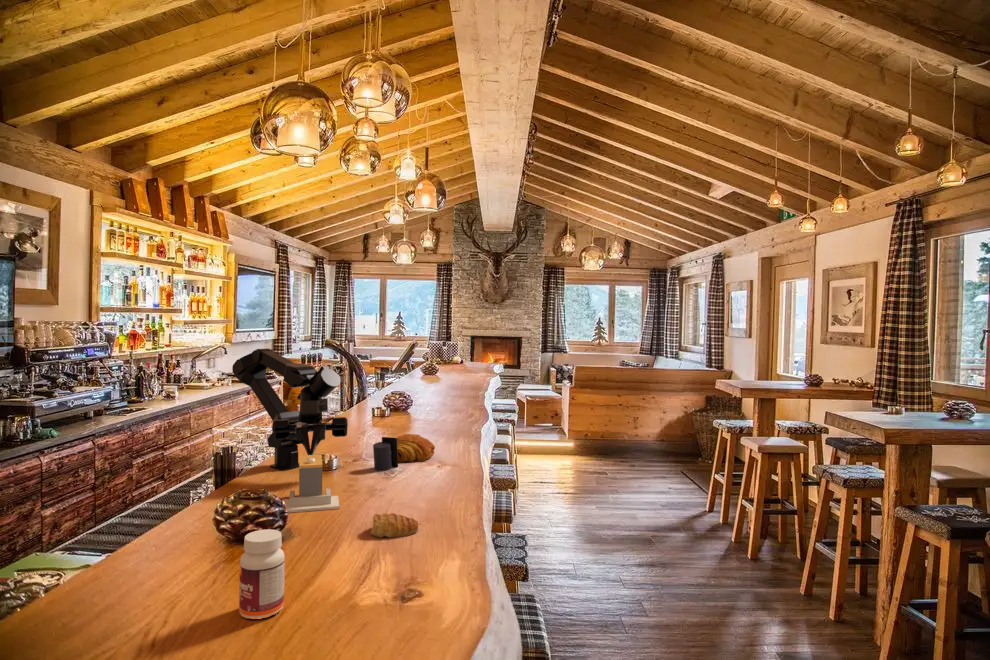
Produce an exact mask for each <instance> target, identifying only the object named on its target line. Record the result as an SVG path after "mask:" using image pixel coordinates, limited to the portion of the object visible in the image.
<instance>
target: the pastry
mask: <svg viewBox="0 0 990 660" xmlns="http://www.w3.org/2000/svg"><path fill="white" fill-rule="evenodd" d="M372 519H373V520H372V526H371V528H372V529H371V530H370V534H371V535H372V536H374V537H376V538H383V537H387V538H395V537H396V538H397V537H398V538H399V537H407V536H410V535H414V534H416V533H418V531H419V521H418V520H416V519H415V518H413V517H408V516H405V515H402V514H396V513H393V512H391V513H386V512H384V513H381V514H379V513H375V514H374V515H373V517H372Z"/></svg>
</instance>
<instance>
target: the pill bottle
mask: <svg viewBox="0 0 990 660" xmlns="http://www.w3.org/2000/svg"><path fill="white" fill-rule="evenodd" d="M282 539H283V538H282V532H281V531H280V530H276V529H269V528H268V529H258V530H255V531H252V532H249V533H247V534H246V535H245V536H244V539H243V541H244V542H243V550H244V553H243V554H242V555H241V556H240V559H239V582H238V583H239V584H238V585H239V592H238V593H239V595H238V596H239V597H238V599H239V600H238V602H239V603H238V605H239V606H238V608H239V610H238V611H239V614H240V613H241V614H242V615H243V616H246V617H253V618H255V617H256V618H258V617H263V616H268V615H270V614H273V613H276V612H278V611H279V610H281V609H282V610H283V608H284V606H283V605H285V563H286V562H285V552H284V551H283V549H281V547H282V544H283V542H282ZM282 610H281V611H282Z"/></svg>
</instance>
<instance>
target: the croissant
mask: <svg viewBox="0 0 990 660" xmlns="http://www.w3.org/2000/svg"><path fill="white" fill-rule="evenodd" d="M396 438H397V452H398V463H399V462H403V463H405V462H407V463H408V462H411V463H412V462H424V461H427V460H429V459H431V458H432V456H434V454H435V449H436V447H435V445H434V443H432V442H431V441H430V440H429V439H427V438H425V437H423V436H422V435H420V434H416V433H415V434H413V433H412V434H411V433H410V434H409V433H407V434H402V435H399V436H398V437H396Z"/></svg>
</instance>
